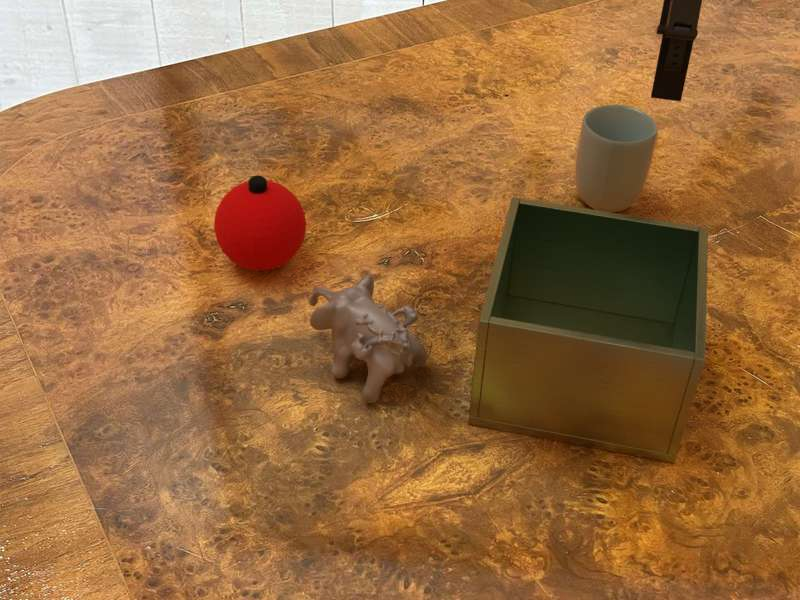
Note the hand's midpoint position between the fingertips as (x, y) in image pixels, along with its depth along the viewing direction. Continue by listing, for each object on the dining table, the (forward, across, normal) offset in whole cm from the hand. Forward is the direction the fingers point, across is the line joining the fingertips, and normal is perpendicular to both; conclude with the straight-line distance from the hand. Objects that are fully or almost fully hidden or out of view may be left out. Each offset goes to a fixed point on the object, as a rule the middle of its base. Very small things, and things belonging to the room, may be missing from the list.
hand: (668, 64), depth 103 cm
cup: (+19, -3, -4) cm, 19 cm away
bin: (+19, +25, -4) cm, 32 cm away
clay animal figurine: (+19, +29, -24) cm, 42 cm away
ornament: (+18, +17, -37) cm, 45 cm away
